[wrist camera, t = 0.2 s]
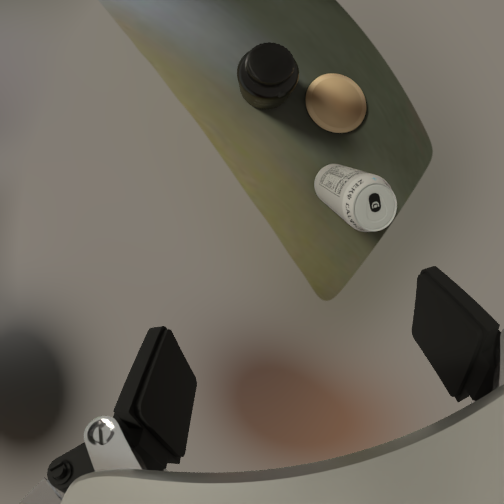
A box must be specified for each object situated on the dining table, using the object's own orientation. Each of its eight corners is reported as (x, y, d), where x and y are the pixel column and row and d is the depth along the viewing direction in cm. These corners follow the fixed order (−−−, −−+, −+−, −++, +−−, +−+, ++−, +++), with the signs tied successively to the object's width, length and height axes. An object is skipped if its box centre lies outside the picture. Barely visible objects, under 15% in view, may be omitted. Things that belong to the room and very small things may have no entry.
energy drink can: (318, 208, 39) (353, 244, 25) (307, 169, 37) (341, 185, 23) (355, 197, 39) (405, 228, 25) (346, 159, 37) (396, 170, 23)
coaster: (302, 72, 32) (303, 71, 31) (362, 77, 32) (363, 76, 31) (307, 132, 35) (308, 132, 35) (366, 134, 35) (368, 134, 34)
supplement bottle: (299, 83, 32) (319, 59, 21) (270, 119, 35) (280, 107, 23) (258, 56, 31) (261, 23, 20) (229, 92, 33) (220, 70, 22)
